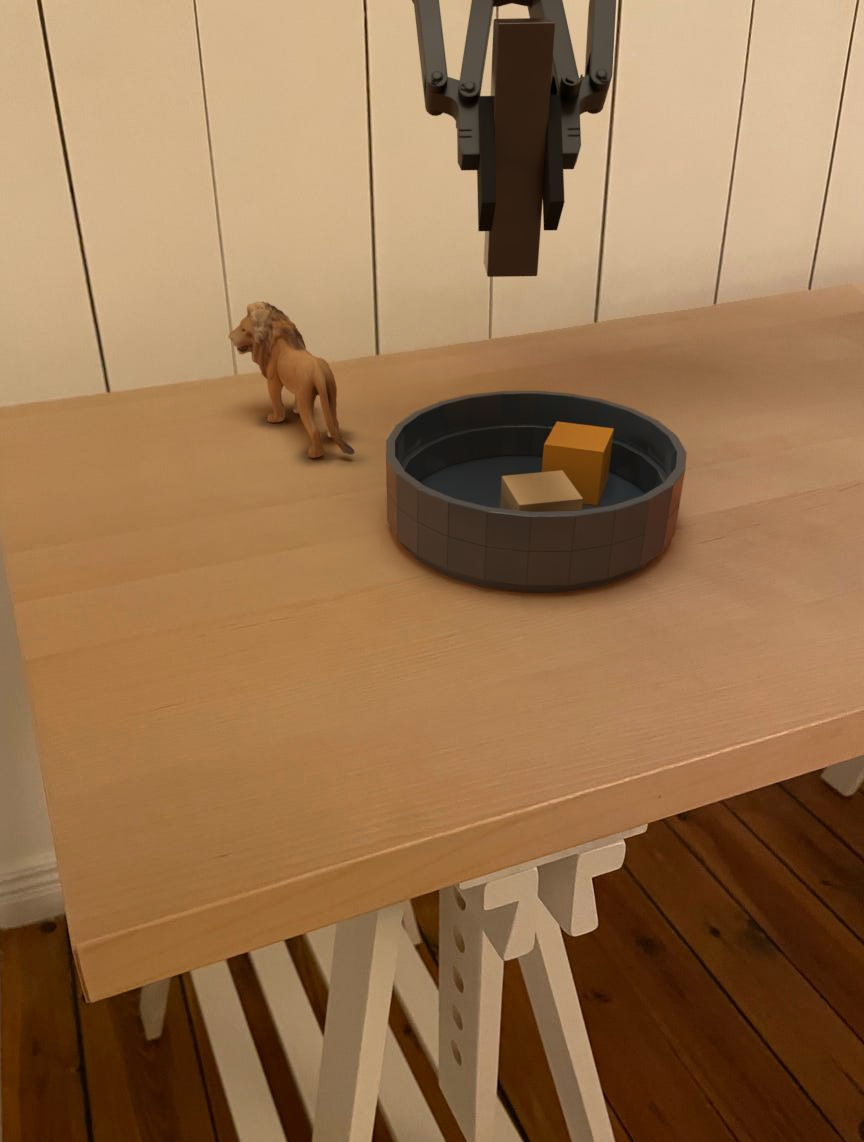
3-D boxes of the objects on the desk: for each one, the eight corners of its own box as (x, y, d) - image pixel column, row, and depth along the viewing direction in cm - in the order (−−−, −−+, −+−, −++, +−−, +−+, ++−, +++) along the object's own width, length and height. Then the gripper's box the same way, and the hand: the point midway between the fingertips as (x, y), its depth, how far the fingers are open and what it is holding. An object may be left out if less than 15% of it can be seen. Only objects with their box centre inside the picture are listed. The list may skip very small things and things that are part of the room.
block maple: (557, 525, 66) (562, 469, 64) (577, 555, 63) (583, 498, 61) (498, 531, 66) (501, 475, 64) (515, 562, 63) (519, 504, 60)
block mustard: (607, 481, 72) (614, 428, 69) (597, 506, 68) (603, 451, 66) (552, 473, 73) (556, 421, 70) (539, 497, 70) (543, 443, 67)
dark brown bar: (531, 262, 63) (548, 17, 55) (537, 276, 60) (555, 22, 53) (483, 263, 63) (493, 18, 55) (487, 277, 60) (497, 23, 53)
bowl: (640, 458, 76) (650, 388, 73) (705, 594, 61) (722, 513, 58) (387, 461, 77) (386, 392, 73) (387, 599, 61) (385, 518, 58)
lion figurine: (230, 410, 85) (218, 303, 80) (283, 395, 88) (275, 290, 83) (326, 469, 76) (319, 352, 70) (383, 451, 78) (381, 336, 73)
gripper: (631, -91, 64) (649, 252, 60) (376, -86, 64) (377, 255, 60) (661, -210, 56) (684, 172, 52) (373, -204, 56) (373, 177, 52)
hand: (520, 216), depth 56 cm, fingers closed on dark brown bar, 3 cm apart
